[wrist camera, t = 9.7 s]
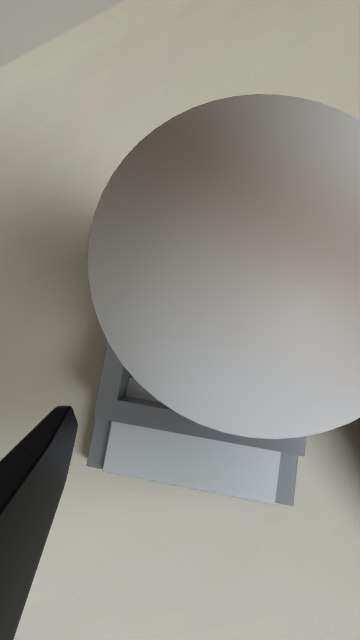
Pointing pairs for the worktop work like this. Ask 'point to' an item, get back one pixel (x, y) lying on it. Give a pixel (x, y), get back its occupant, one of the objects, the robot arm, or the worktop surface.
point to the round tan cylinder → (237, 265)
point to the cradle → (184, 445)
